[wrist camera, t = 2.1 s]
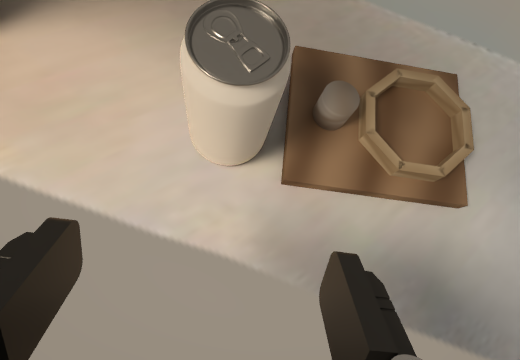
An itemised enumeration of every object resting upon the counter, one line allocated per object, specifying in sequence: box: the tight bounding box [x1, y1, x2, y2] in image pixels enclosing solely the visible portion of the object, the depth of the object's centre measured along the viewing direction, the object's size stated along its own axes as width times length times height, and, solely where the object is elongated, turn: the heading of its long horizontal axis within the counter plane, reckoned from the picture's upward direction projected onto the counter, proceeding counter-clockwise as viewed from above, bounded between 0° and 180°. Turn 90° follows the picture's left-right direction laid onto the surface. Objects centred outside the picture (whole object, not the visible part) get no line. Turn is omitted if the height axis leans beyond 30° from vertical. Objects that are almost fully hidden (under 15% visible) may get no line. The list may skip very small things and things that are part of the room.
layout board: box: [281, 46, 474, 208], centre depth 30 cm, size 16×13×4 cm
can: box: [180, 0, 291, 166], centre depth 24 cm, size 6×6×12 cm
